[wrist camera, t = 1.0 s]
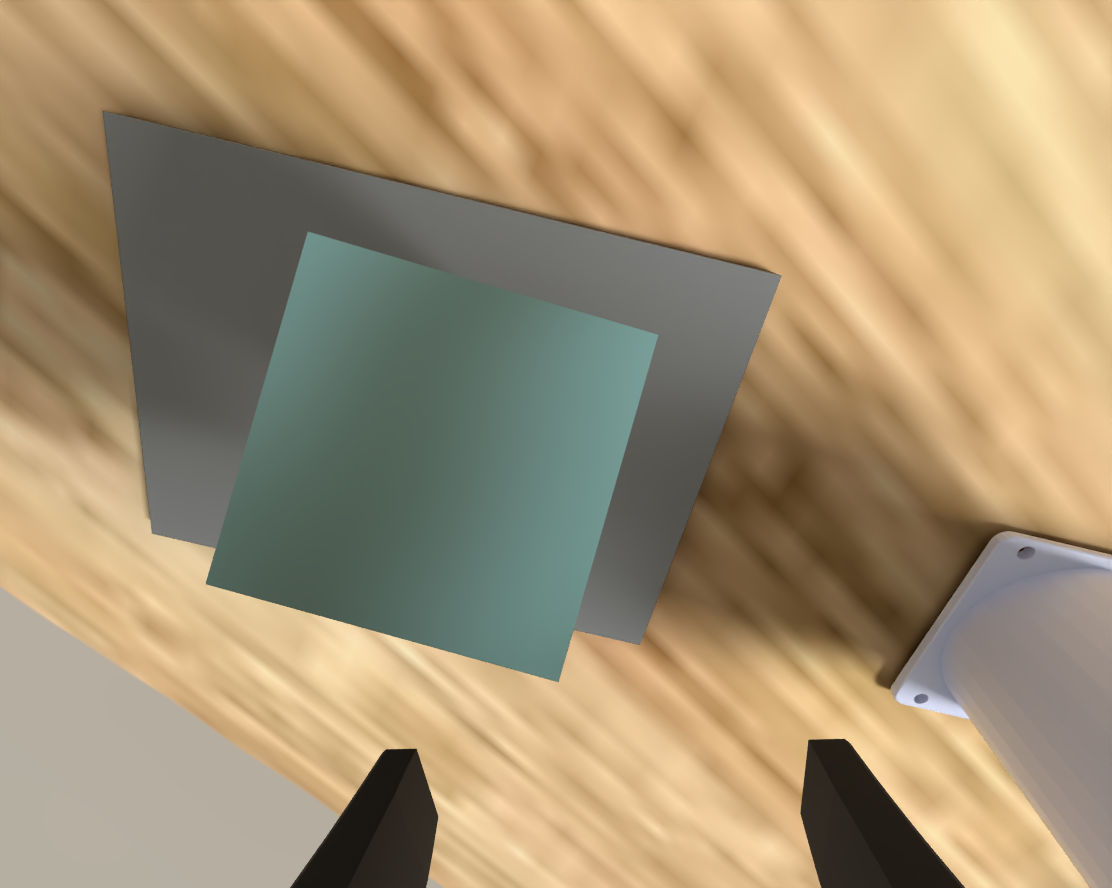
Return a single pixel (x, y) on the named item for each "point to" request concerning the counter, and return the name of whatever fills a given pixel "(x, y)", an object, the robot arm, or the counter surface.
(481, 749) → the counter surface
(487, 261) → the mat
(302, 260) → the tall block
